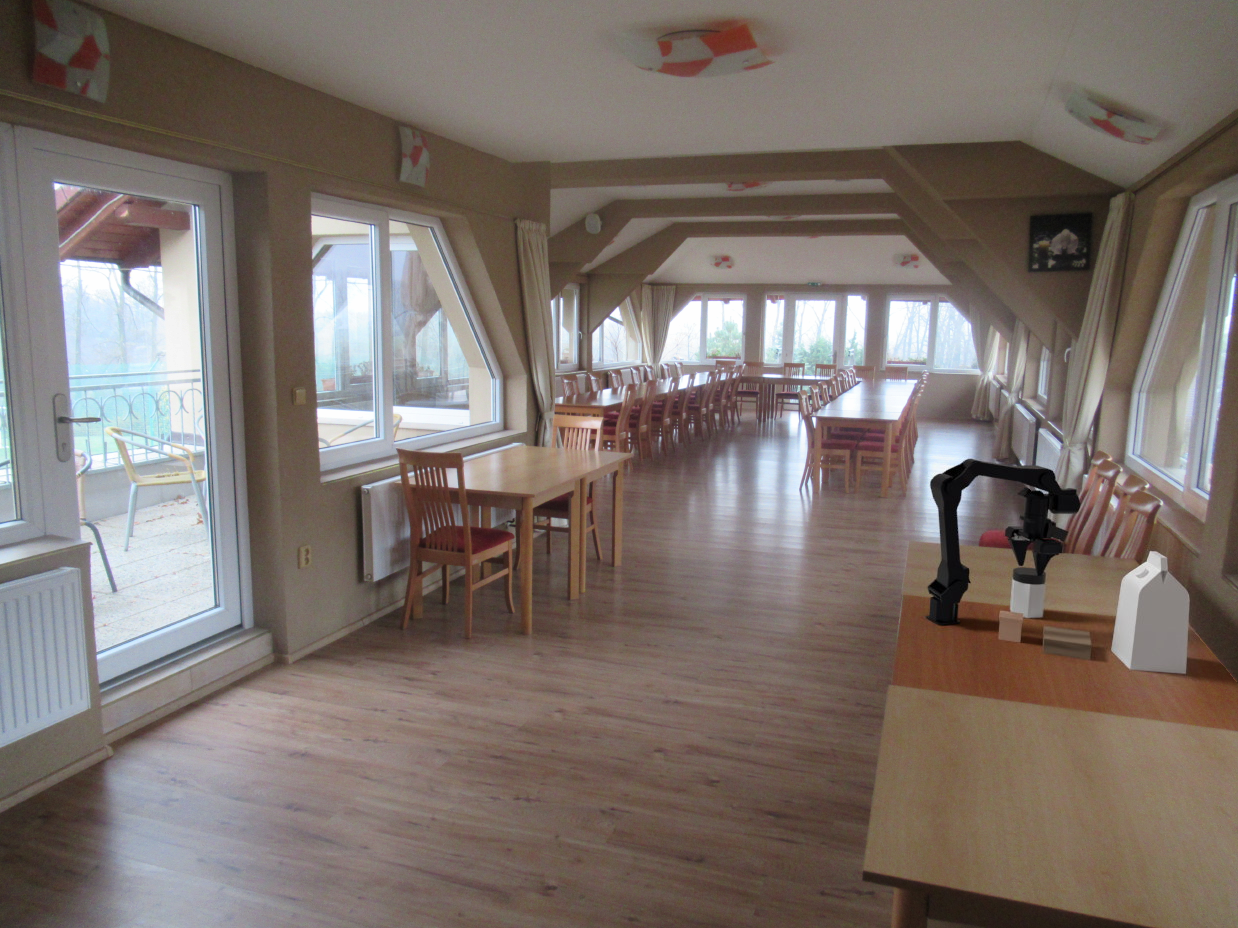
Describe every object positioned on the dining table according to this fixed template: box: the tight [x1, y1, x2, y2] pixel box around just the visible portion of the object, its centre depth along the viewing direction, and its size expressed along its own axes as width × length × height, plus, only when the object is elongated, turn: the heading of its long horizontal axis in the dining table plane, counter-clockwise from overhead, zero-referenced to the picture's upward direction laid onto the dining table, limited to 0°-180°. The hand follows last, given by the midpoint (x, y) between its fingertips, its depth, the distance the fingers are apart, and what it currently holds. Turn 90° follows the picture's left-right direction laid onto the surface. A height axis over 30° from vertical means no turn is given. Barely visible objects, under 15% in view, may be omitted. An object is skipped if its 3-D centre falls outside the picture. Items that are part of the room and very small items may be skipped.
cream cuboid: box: [998, 609, 1024, 643], centre depth 214 cm, size 5×5×6 cm
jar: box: [1009, 566, 1047, 619], centre depth 232 cm, size 9×8×12 cm
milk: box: [1110, 550, 1191, 675], centre depth 197 cm, size 12×12×26 cm
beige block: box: [1042, 625, 1092, 661], centre depth 206 cm, size 10×10×4 cm
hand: (1030, 570), depth 226 cm, fingers open, 9 cm apart
